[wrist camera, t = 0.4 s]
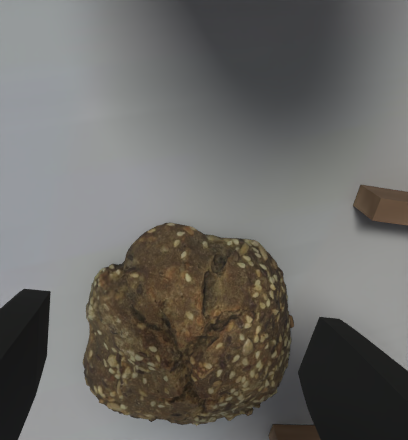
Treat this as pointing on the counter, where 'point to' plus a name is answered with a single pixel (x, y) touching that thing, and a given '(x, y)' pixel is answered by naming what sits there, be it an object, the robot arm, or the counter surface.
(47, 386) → the counter surface
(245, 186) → the counter surface
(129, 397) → the bread roll
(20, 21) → the counter surface
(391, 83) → the counter surface
